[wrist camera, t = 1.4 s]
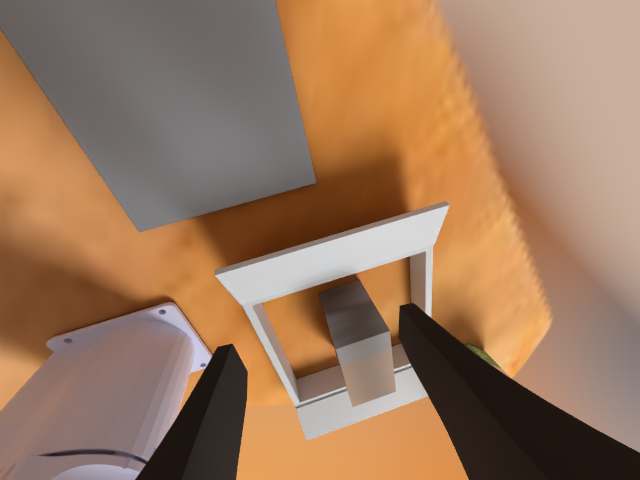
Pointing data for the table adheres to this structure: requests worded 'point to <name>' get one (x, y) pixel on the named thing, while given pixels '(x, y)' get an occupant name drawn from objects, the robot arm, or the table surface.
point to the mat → (170, 98)
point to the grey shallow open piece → (326, 265)
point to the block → (359, 342)
